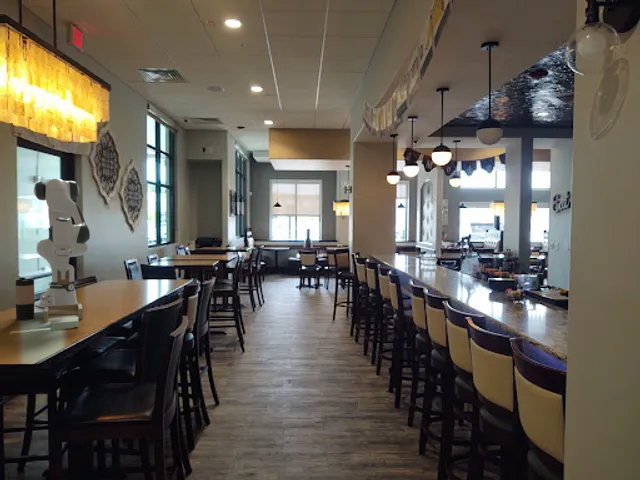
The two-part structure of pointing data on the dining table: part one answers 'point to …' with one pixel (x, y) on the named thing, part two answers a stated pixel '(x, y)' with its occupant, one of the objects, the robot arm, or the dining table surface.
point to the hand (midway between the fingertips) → (63, 278)
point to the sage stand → (64, 323)
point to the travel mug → (25, 299)
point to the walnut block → (59, 280)
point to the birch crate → (62, 311)
